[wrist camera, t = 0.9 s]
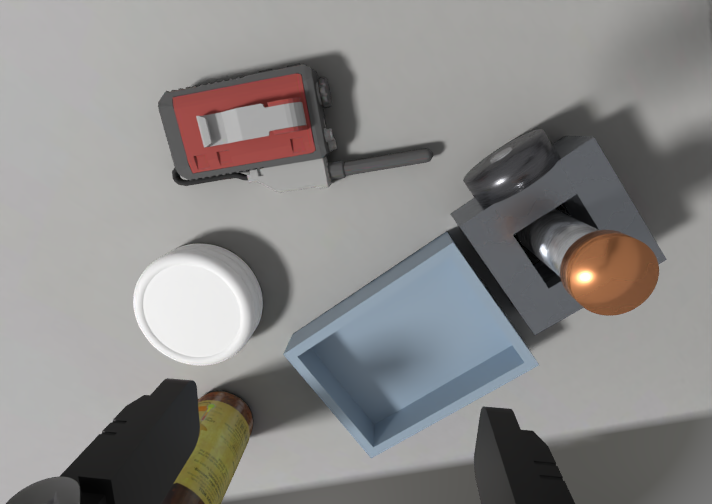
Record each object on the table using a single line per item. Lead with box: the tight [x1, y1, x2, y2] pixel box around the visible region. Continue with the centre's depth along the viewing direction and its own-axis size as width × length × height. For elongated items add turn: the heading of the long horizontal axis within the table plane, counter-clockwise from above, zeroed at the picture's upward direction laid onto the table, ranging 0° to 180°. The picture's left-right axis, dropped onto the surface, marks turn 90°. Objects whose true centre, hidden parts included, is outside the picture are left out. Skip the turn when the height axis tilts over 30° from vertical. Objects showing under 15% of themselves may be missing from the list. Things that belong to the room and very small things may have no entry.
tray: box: [283, 231, 539, 458], centre depth 35 cm, size 16×12×4 cm
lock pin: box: [517, 209, 659, 315], centre depth 28 cm, size 4×4×12 cm
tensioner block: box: [451, 129, 666, 335], centre depth 30 cm, size 10×12×6 cm
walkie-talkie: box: [158, 64, 433, 193], centre depth 31 cm, size 9×4×20 cm
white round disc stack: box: [133, 243, 263, 366], centre depth 36 cm, size 10×10×4 cm
